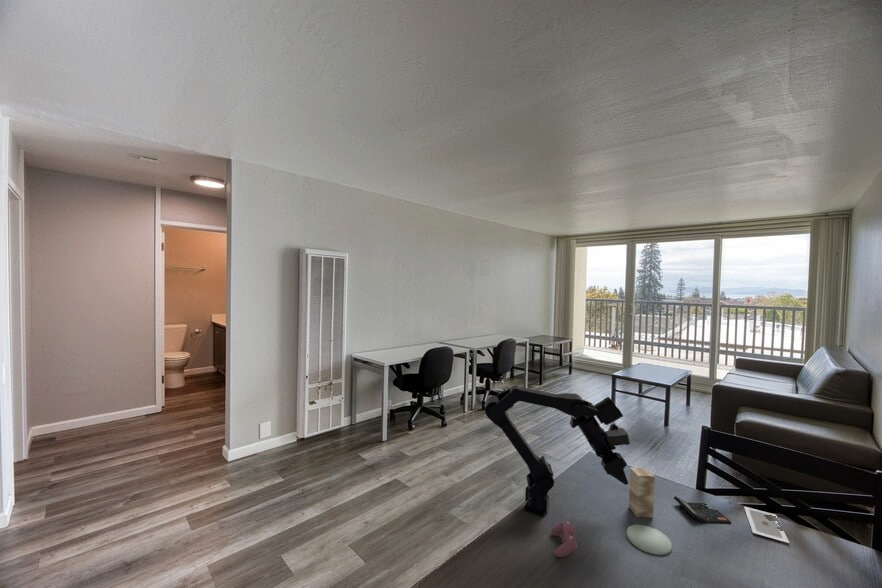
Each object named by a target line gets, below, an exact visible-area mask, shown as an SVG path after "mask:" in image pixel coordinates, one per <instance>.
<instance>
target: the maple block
mask: <svg viewBox="0 0 882 588" xmlns="http://www.w3.org/2000/svg"><path fill="white" fill-rule="evenodd" d="M628 491H629V493H628V496H629V497H628V508H629V509H630V511H631V512H633V514H634V515H635V517H636V518H654V506H655V504H654V502H655V475H654V474H653V473H652V472H651V471H650V470H648V468H647V467H629V490H628Z"/></svg>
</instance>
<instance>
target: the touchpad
mask: <svg viewBox="0 0 882 588" xmlns="http://www.w3.org/2000/svg"><path fill="white" fill-rule="evenodd" d="M743 508H744V511H745V513H746V516H747V520H748V522H749V525H750V528H751V532H752V533H753V534H755V535H758V536H759V535H760V536H763V537H766V538H771V539H774V540H777V541H781V542H783V543H788V544H790V541H789V539H788V537H787V535H786V533H785V530H784V531H780V530H779V529H777V526H778V527H780V526H779V525H778V524H777V523H778V522H777V521H769V520H768V519H766V517H765V516H764V515H772V516H776V518H778V516H777V514H775V513H771V512H767V511H763V510H759V509H755V508H752V507H748V506H743ZM776 524H777V525H776Z"/></svg>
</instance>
